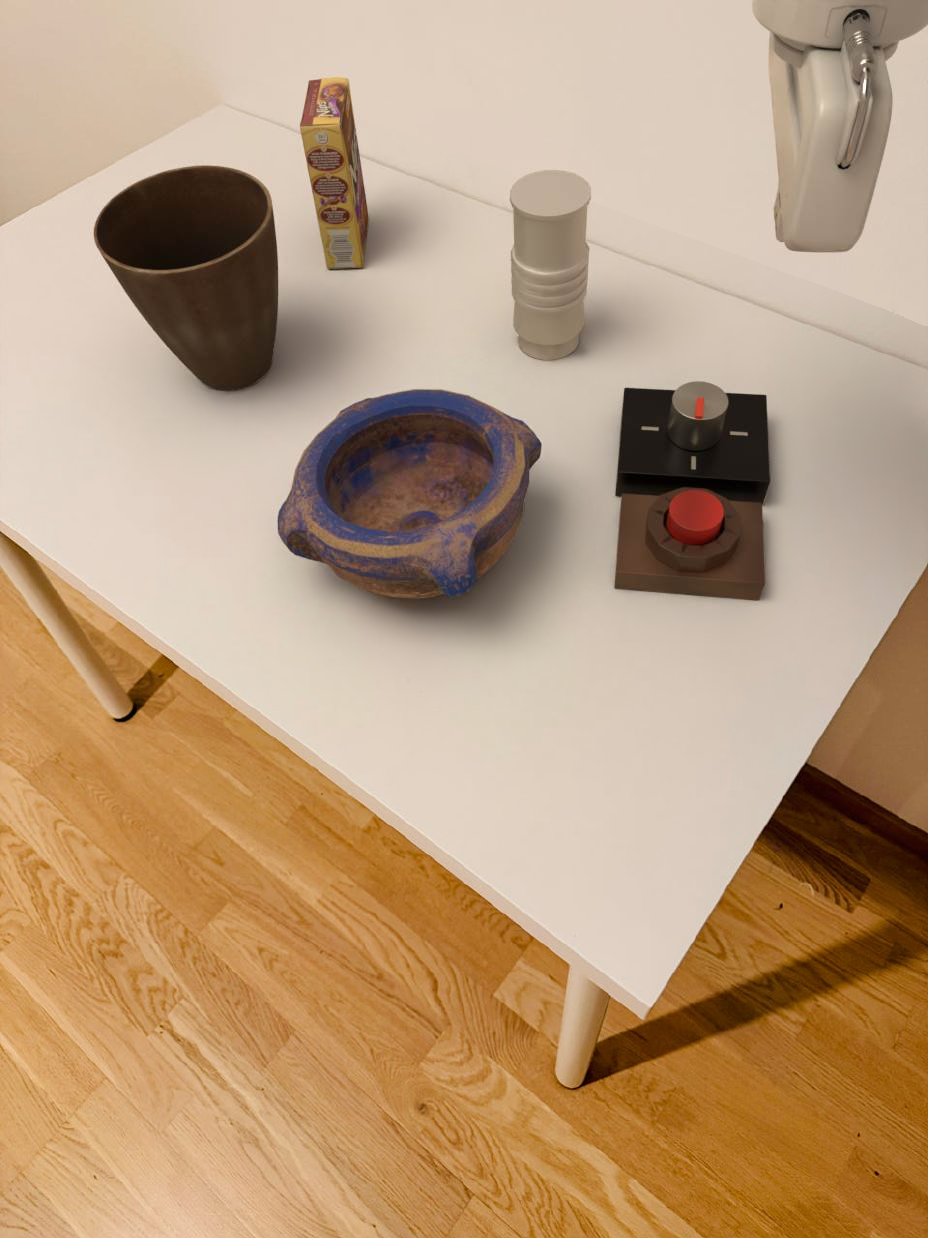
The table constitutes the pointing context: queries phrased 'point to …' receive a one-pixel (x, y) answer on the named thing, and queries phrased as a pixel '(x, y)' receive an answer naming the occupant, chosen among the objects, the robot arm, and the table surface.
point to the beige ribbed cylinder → (549, 261)
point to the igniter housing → (690, 550)
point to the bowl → (411, 492)
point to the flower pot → (199, 267)
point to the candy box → (335, 171)
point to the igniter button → (695, 517)
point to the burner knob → (697, 415)
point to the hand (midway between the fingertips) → (788, 228)
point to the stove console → (665, 466)
